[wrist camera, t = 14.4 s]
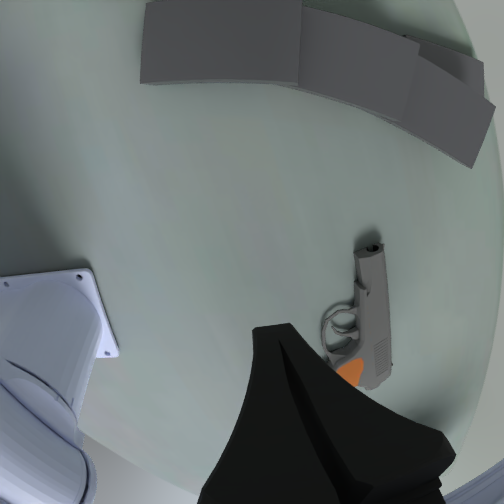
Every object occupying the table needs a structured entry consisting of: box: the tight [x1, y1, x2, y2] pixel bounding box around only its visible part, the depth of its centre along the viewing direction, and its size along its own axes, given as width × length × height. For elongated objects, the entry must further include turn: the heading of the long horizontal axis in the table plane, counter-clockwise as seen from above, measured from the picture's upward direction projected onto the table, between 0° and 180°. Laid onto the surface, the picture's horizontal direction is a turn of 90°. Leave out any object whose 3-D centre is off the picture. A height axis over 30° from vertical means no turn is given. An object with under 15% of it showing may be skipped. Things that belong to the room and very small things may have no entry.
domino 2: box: [275, 6, 420, 122], centre depth 14 cm, size 2×5×8 cm
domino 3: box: [361, 55, 496, 169], centre depth 16 cm, size 2×5×8 cm
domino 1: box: [140, 0, 303, 86], centre depth 13 cm, size 2×5×8 cm
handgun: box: [322, 243, 393, 390], centre depth 26 cm, size 2×16×12 cm
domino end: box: [402, 35, 484, 97], centre depth 17 cm, size 2×5×8 cm
